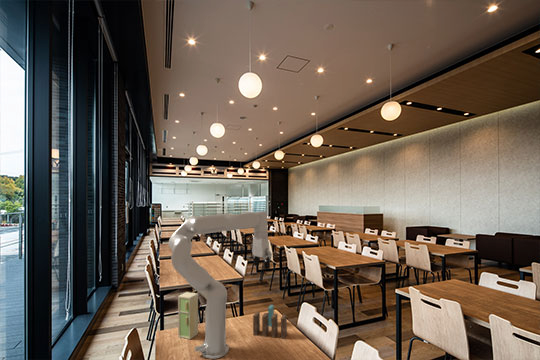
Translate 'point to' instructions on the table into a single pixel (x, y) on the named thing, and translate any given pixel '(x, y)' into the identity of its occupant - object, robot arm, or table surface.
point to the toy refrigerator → (187, 315)
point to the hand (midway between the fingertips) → (261, 267)
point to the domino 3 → (270, 313)
